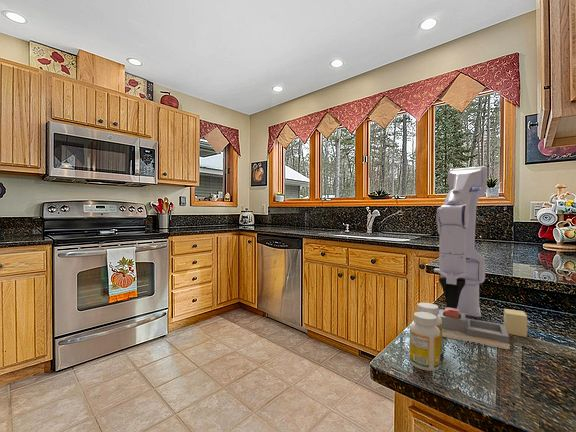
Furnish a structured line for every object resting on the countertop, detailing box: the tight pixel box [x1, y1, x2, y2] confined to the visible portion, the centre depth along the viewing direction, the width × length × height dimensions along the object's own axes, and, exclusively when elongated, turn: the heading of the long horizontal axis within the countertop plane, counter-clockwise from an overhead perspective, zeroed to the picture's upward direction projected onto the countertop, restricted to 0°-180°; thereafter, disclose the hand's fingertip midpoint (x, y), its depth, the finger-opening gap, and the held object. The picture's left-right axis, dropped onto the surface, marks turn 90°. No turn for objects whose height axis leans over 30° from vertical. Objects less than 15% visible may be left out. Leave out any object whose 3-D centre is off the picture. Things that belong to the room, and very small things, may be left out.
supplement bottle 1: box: [417, 302, 443, 356], centre depth 60 cm, size 5×5×10 cm
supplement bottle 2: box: [409, 311, 441, 372], centre depth 55 cm, size 5×5×10 cm
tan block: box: [503, 308, 528, 338], centre depth 70 cm, size 4×4×5 cm
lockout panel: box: [437, 308, 511, 350], centre depth 68 cm, size 10×14×4 cm
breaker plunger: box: [444, 306, 459, 318], centre depth 70 cm, size 3×3×3 cm
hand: (451, 307), depth 70 cm, fingers closed
